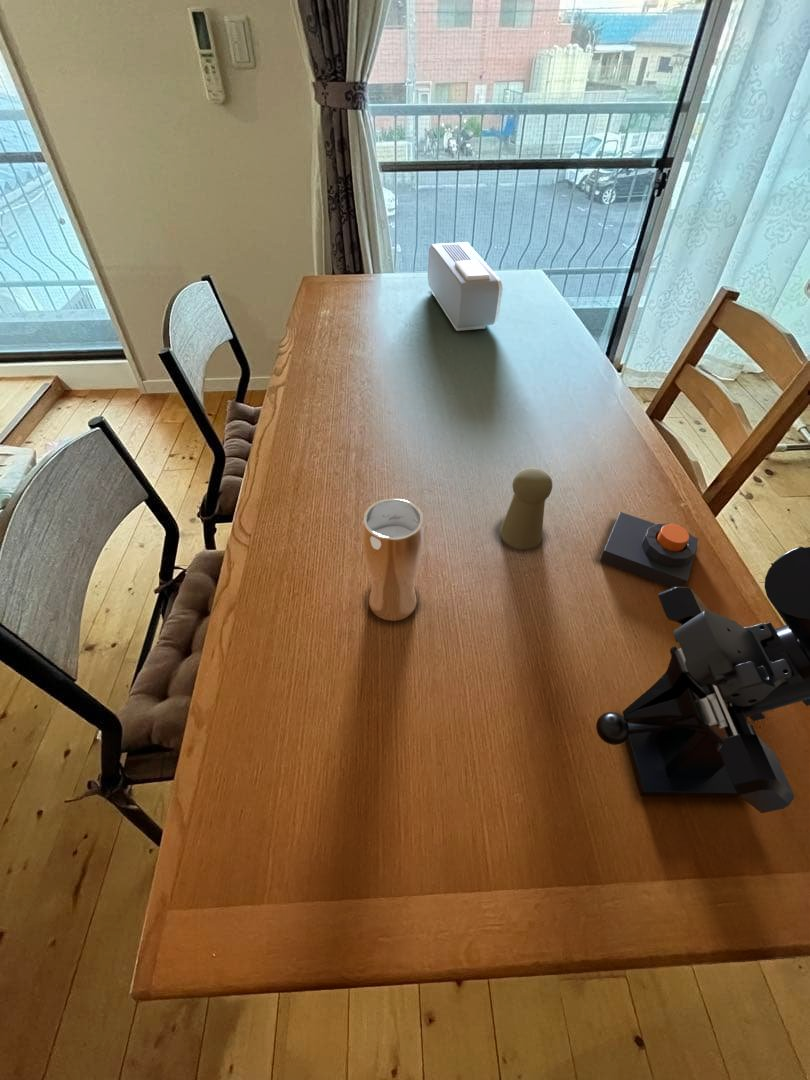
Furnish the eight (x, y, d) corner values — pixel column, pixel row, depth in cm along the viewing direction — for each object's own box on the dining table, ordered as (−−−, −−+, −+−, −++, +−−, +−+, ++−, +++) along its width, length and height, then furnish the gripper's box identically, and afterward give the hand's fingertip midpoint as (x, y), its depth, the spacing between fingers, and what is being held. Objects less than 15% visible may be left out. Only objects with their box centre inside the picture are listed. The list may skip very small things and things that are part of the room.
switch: (600, 751, 54) (599, 738, 51) (593, 722, 56) (592, 708, 54) (733, 738, 51) (738, 724, 49) (720, 708, 53) (725, 693, 51)
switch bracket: (640, 796, 55) (681, 750, 47) (619, 720, 61) (653, 668, 53) (740, 797, 55) (797, 752, 47) (710, 722, 61) (756, 670, 53)
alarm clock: (497, 333, 125) (504, 278, 117) (457, 336, 124) (462, 281, 115) (461, 285, 144) (465, 235, 135) (426, 288, 142) (429, 237, 133)
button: (686, 538, 75) (691, 529, 74) (682, 555, 73) (687, 546, 72) (659, 529, 77) (664, 520, 75) (654, 546, 74) (658, 536, 73)
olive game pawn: (549, 542, 79) (567, 484, 72) (512, 553, 78) (526, 494, 70) (528, 515, 83) (542, 457, 75) (492, 525, 82) (503, 466, 74)
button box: (692, 548, 79) (703, 529, 76) (681, 591, 74) (693, 572, 71) (615, 522, 83) (623, 502, 80) (599, 561, 77) (607, 541, 74)
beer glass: (359, 589, 73) (353, 504, 62) (408, 575, 75) (411, 491, 64) (375, 630, 68) (373, 547, 58) (428, 615, 70) (434, 531, 59)
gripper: (725, 521, 46) (561, 598, 54) (848, 737, 33) (609, 798, 41) (768, 584, 52) (615, 646, 60) (887, 789, 39) (671, 834, 47)
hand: (625, 717), depth 52 cm, fingers closed, pressing on switch bracket
